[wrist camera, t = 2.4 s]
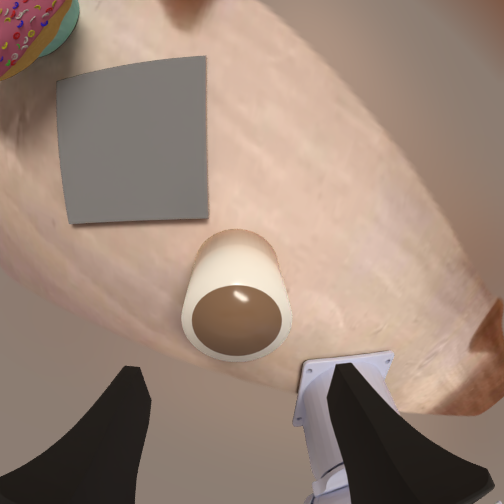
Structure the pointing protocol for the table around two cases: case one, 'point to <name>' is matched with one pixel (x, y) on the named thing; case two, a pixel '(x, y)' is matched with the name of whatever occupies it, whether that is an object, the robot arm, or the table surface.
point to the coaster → (135, 142)
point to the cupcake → (32, 31)
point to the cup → (236, 298)
